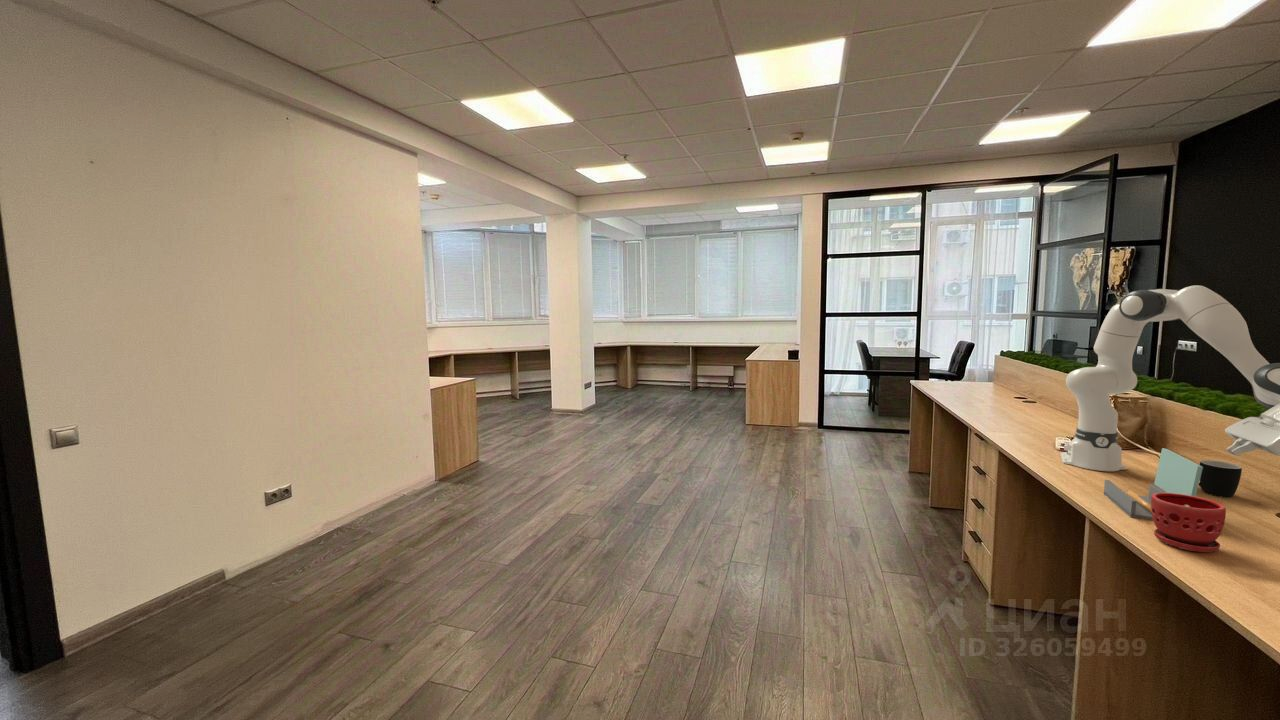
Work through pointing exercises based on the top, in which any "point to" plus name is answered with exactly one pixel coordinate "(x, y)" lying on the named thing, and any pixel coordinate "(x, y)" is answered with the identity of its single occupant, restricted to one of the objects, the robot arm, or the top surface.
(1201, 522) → the plant pot
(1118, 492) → the grey rectangular box
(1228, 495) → the mug
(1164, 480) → the lid
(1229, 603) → the top surface
